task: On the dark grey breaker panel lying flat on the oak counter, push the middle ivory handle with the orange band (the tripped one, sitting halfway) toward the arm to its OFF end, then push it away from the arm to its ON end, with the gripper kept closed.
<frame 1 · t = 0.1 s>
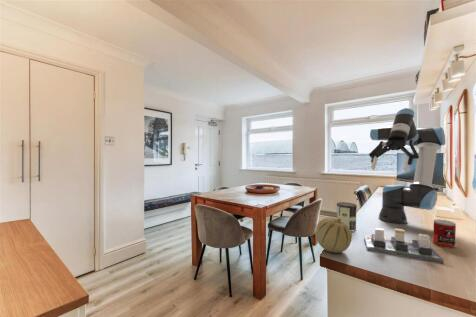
hand: (388, 169, 103), 36 cm above the table, tool tilted 35°, fingers open, 13 cm apart
coffee can: (345, 228, 126), on the table
canned food: (443, 245, 105), on the table
cantaloupe: (332, 251, 96), on the table
tripped handle: (399, 234, 98), point 7 cm above the table, slide at 0.0 cm
panel: (398, 249, 98), on the table
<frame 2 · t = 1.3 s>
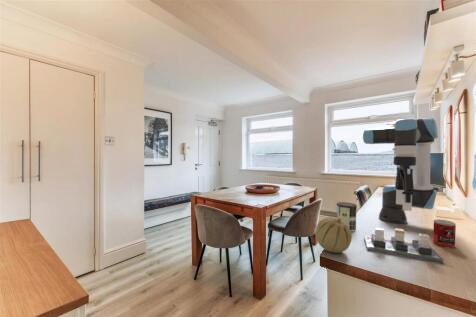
hand: (403, 207, 93), 20 cm above the table, tool pointing down, fingers open, 11 cm apart
nothing on the table moved.
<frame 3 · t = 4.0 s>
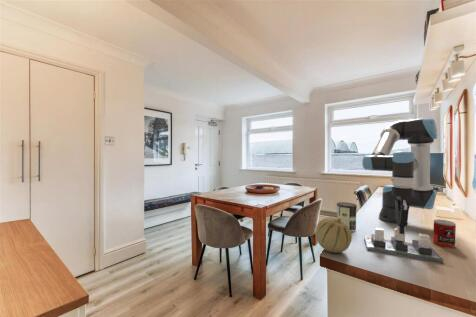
hand: (400, 240, 96), 5 cm above the table, tool pointing down, fingers closed
tripped handle: (398, 234, 99), point 7 cm above the table, slide at -0.9 cm, touching gripper
everything else where it was.
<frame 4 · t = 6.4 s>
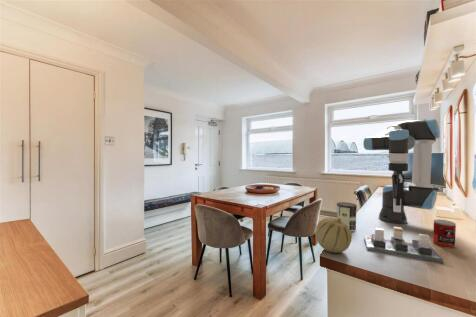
hand: (397, 211, 104), 16 cm above the table, tool pointing down, fingers closed
tripped handle: (397, 232, 101), point 7 cm above the table, slide at -2.9 cm
everything else where it was.
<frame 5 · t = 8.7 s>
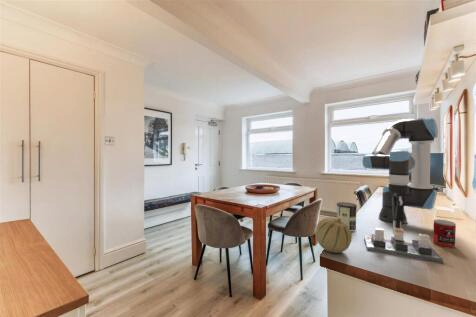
hand: (396, 234, 102), 6 cm above the table, tool pointing down, fingers closed
tripped handle: (398, 234, 99), point 7 cm above the table, slide at -1.2 cm, touching gripper
everything else where it was.
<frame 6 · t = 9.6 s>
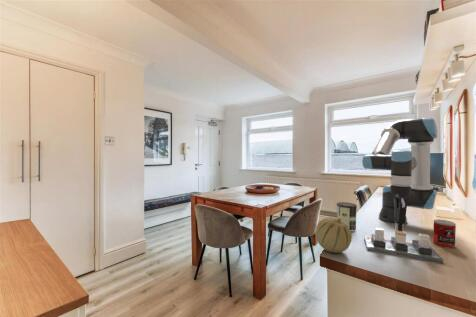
hand: (399, 237, 98), 6 cm above the table, tool pointing down, fingers closed
tripped handle: (400, 237, 95), point 7 cm above the table, slide at 2.9 cm, touching gripper
everything else where it was.
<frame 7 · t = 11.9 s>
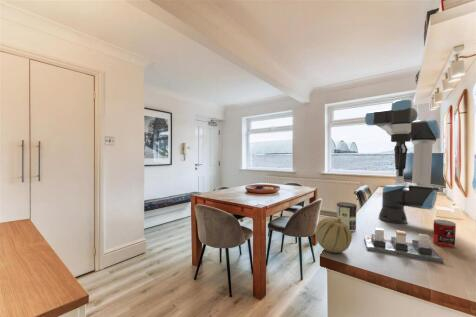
hand: (399, 182, 104), 29 cm above the table, tool pointing down, fingers closed
tripped handle: (400, 237, 95), point 7 cm above the table, slide at 2.9 cm
everything else where it was.
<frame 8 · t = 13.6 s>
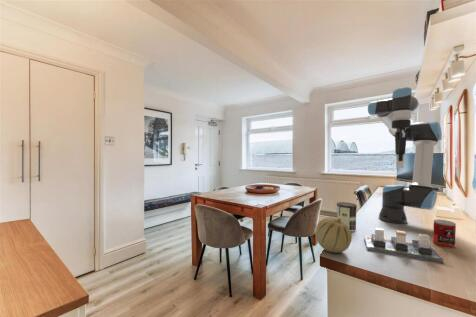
hand: (399, 167, 108), 36 cm above the table, tool pointing down, fingers closed
nothing on the table moved.
at the end: tripped handle slide at 2.9 cm; the gripper is holding nothing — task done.
